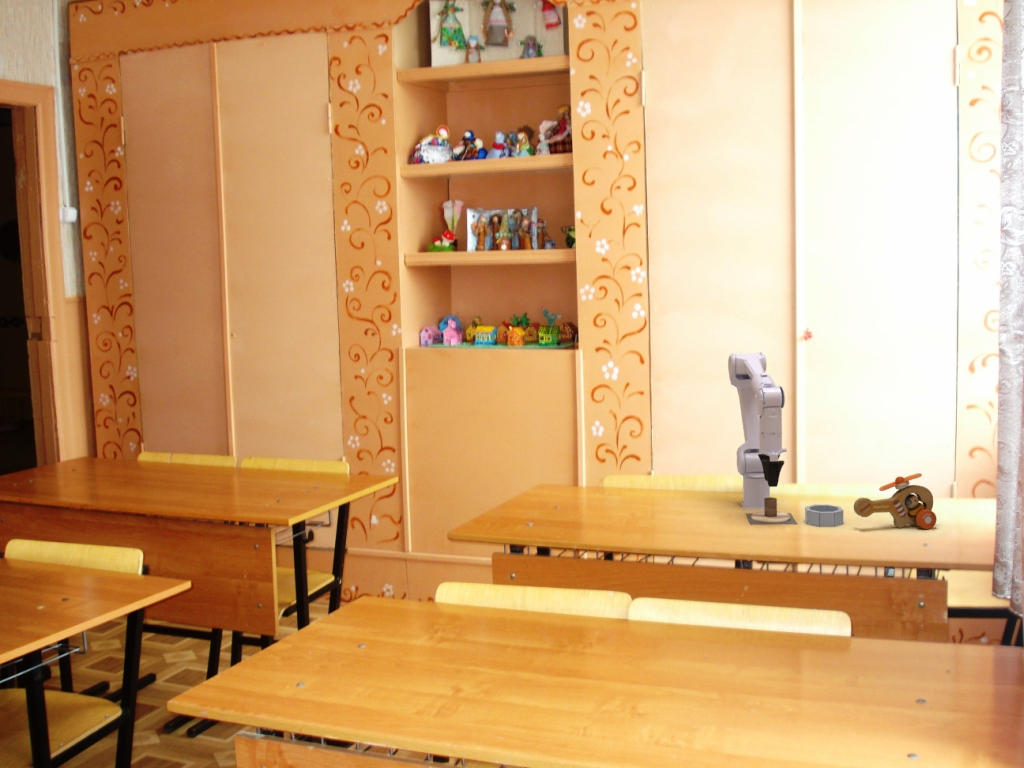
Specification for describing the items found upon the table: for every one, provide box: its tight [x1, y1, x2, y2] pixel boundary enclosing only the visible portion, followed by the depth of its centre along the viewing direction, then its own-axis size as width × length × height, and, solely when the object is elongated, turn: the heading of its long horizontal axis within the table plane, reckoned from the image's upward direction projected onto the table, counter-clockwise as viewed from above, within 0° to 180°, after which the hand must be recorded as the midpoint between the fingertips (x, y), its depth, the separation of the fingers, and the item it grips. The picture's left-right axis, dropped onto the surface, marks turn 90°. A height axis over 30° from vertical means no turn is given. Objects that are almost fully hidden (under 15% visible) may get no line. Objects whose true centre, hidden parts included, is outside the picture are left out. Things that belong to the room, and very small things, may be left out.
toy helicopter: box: [853, 473, 938, 530], centre depth 250 cm, size 8×21×14 cm, turn 98°
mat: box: [745, 512, 798, 526], centre depth 263 cm, size 12×12×1 cm
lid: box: [751, 496, 790, 523], centre depth 262 cm, size 10×10×5 cm
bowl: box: [804, 504, 844, 528], centre depth 257 cm, size 9×9×4 cm
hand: (771, 483), depth 261 cm, fingers open, 7 cm apart
